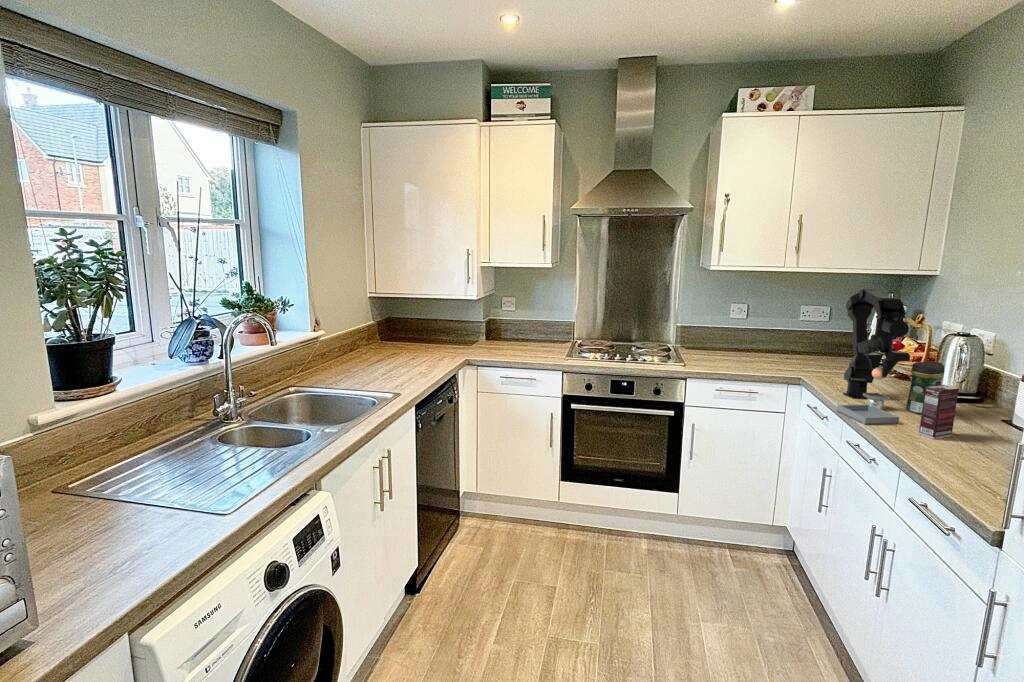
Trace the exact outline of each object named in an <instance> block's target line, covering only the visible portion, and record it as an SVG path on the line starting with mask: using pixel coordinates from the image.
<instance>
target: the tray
mask: <svg viewBox="0 0 1024 682" xmlns="http://www.w3.org/2000/svg"><path fill="white" fill-rule="evenodd" d="M836 412H837V413H838V414H841V415H843V416H845V417H847V418H849V419H852V420H854V421H855V422H857V423H860V424H862V425H864V426H874V425H876V426H877V425H879V426H880V425H881V426H882V425H883V426H885V425H899V424H900V423H899V422H900V416H897V415H896V414H893V413H890V412H887V411H886V410H884V409H883V410H881V409H879V408H876V407H874V406H871V405H869V404H867V403H866V404H837V406H836Z"/></svg>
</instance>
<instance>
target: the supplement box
mask: <svg viewBox="0 0 1024 682" xmlns="http://www.w3.org/2000/svg"><path fill="white" fill-rule="evenodd" d="M958 395H959V387H956V386H952V385H947V384H941V385H939V386H930V387H926V389H925V395H924V402H923V409H922V414H921V415H920V416H921V417H920V423H919V431H918V435H919V436H921V435H922V437H923V438H924V437H925V438H928V439H931V440H937V439H944V438H949V437H950V438H951V437H952V435H953V429H954V422H955V415H956V409H957V403H958Z"/></svg>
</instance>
